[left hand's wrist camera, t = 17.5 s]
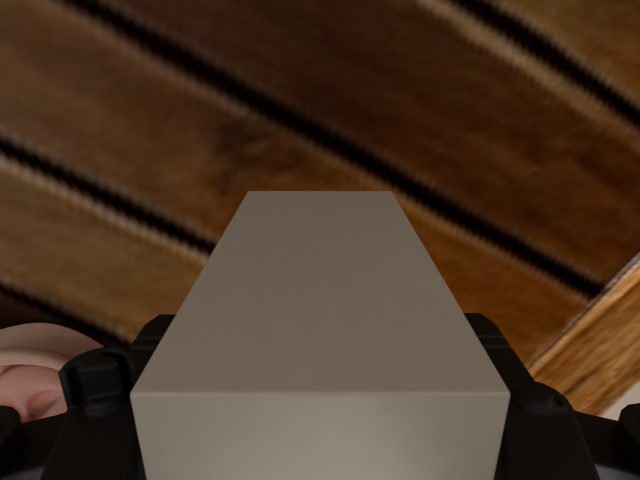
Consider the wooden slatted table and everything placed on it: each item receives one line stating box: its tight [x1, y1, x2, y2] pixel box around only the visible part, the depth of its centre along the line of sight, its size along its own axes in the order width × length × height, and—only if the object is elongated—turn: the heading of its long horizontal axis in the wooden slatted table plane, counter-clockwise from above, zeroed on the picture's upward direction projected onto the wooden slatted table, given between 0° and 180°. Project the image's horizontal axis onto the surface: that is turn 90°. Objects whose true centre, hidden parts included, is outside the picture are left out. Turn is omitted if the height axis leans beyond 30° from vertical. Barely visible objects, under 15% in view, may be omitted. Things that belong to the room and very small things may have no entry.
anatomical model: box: [0, 323, 104, 423], centre depth 26 cm, size 13×4×12 cm
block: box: [130, 191, 510, 480], centre depth 11 cm, size 5×5×10 cm
